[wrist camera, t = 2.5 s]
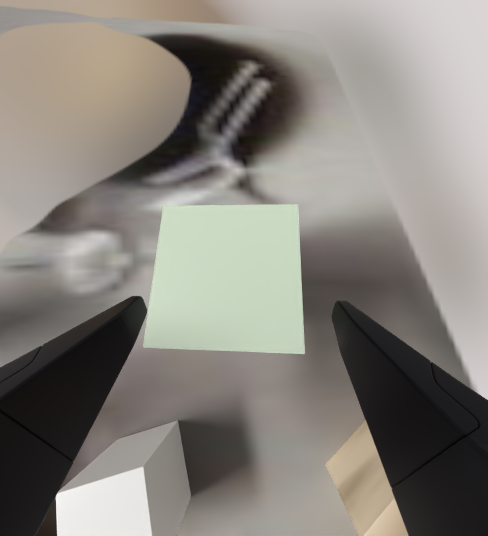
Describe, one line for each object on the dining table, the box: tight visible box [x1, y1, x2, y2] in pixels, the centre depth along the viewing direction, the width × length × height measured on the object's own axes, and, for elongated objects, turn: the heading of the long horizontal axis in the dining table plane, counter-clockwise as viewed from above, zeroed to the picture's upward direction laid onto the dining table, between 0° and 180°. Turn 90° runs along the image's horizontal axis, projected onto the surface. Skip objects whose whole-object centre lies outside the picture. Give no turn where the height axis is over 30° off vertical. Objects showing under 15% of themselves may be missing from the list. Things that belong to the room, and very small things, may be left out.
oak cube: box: [326, 420, 408, 536], centre depth 12 cm, size 5×5×5 cm
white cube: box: [56, 421, 191, 536], centre depth 13 cm, size 5×5×5 cm
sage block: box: [143, 204, 305, 354], centre depth 12 cm, size 4×4×12 cm
